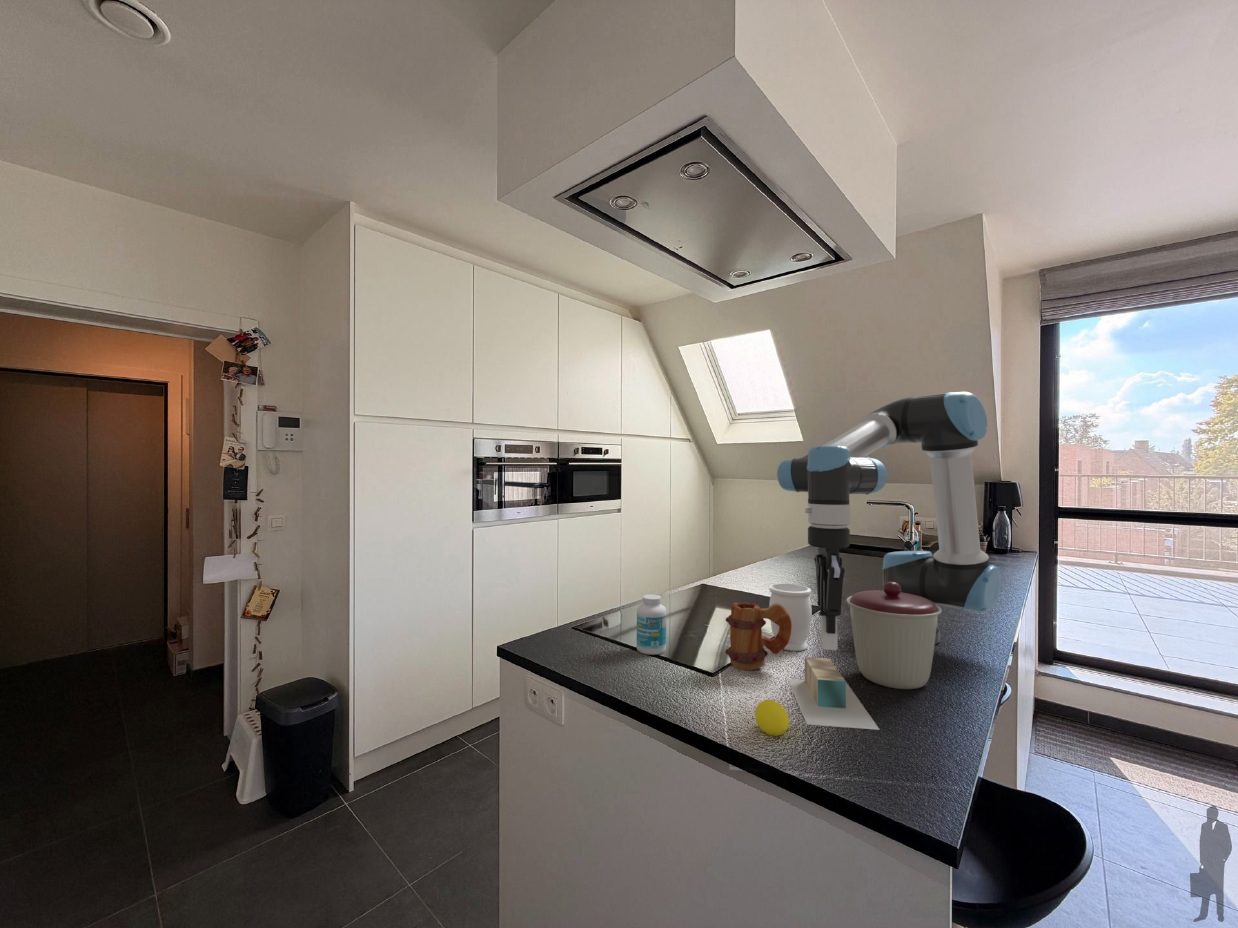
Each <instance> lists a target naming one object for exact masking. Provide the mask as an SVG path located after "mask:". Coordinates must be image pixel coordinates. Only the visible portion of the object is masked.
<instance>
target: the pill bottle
mask: <svg viewBox="0 0 1238 928" xmlns="http://www.w3.org/2000/svg"><path fill="white" fill-rule="evenodd" d="M641 601H642V604H640V605H638V607H637V609H636V649H637V652H639V653H641V654H644V655H647V656H648V655H650V656H655V655H656V656H657V655H661V654H663V653H664V652H665V651H666V648H667V608H666V607H665V606H664V605H663V604H661V602H662V596H661V595H658V594H645V595H642V599H641Z"/></svg>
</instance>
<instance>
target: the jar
mask: <svg viewBox="0 0 1238 928" xmlns="http://www.w3.org/2000/svg"><path fill="white" fill-rule="evenodd" d="M768 590H769V591H770V597H769V604H768V605H769V606H768V607H770V606H771V605H773V604H775V603H778V604H781V605H782V606H783V607H784V608H785V609H786V611H787V612H788V614H789V616H790V618H791V624H792V627H791V635H790V639H789V642H788V644H787V645H786V647H785V648H784V649H783V651H784V650H785V651H789V652H790V651H792V652H801V651H805V650H807V648H808V644H807V642H806V641H807V639H808V637H809V634H810V629H811V623H812V613H813V612H812V610H813V609H812V602H811V599H810V598H811V597H810V595H812V589H811V588H810V587H808V586H805V585H800V584H796V583H795V584H794V583H775V584H770V585H769V588H768ZM770 625H771V631H772V633H773V635H774V637H776V635H777V634H778V632H779V625H777V624H775V623H774V622H772V621H771V620H770Z"/></svg>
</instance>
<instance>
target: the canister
mask: <svg viewBox="0 0 1238 928" xmlns="http://www.w3.org/2000/svg"><path fill="white" fill-rule="evenodd" d="M883 590H884V591H883ZM846 603H847V604H848V605H849V611H850V619H851V626H852V627H851V629H852V635H853V637H852V638H853V643H854V650H855V651H854V652H855V657H856V664H857V668H858V669H859V671H860V673H861V674H862V676H863V677H864V678H865V679H867V680H868V681H871V682H872V683H874V684H876V685H880V686H883V687H887V688H890V689H891V688H893V689H898V690H914V689H916V690H917V689H920V688H923V687H924V686H925V685H926V684H927V683H928V681H929V679H930V676H931V672H932V667H933V658H934V652H935V645H936V644H935V636H936V628H937V625H938V616H939V615H941V613H942V610H943V609H942V607H940V606H939V604H935V603H933V602H932V601H930V600H928V599H926V598H924V597H921V596H917V595H913V594H908V593H903V592H901V586H900V585H899V584H898V583H896V582H886V583H885V584H884V585H883V584H882V590H873V589H872V590H862V591H859V592H855V593H853V595H850V596H848V597H847V598H846Z"/></svg>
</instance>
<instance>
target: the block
mask: <svg viewBox="0 0 1238 928" xmlns="http://www.w3.org/2000/svg"><path fill="white" fill-rule="evenodd" d="M804 680H805V682H806V684H807V686H808V688H809V690H810V692H811V694H812V696H813V697H814V699H815V701H816V703H817V705H818V706H820V707H835V708H846V683H847V681H846V680H845V679H844V677H843V676H842V674H841V673H840V672H839V670H838V668H837V667H836V666H835V664H834V663H833V661H832V660H831V658H825V657H806V656H805V657H804Z"/></svg>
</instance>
